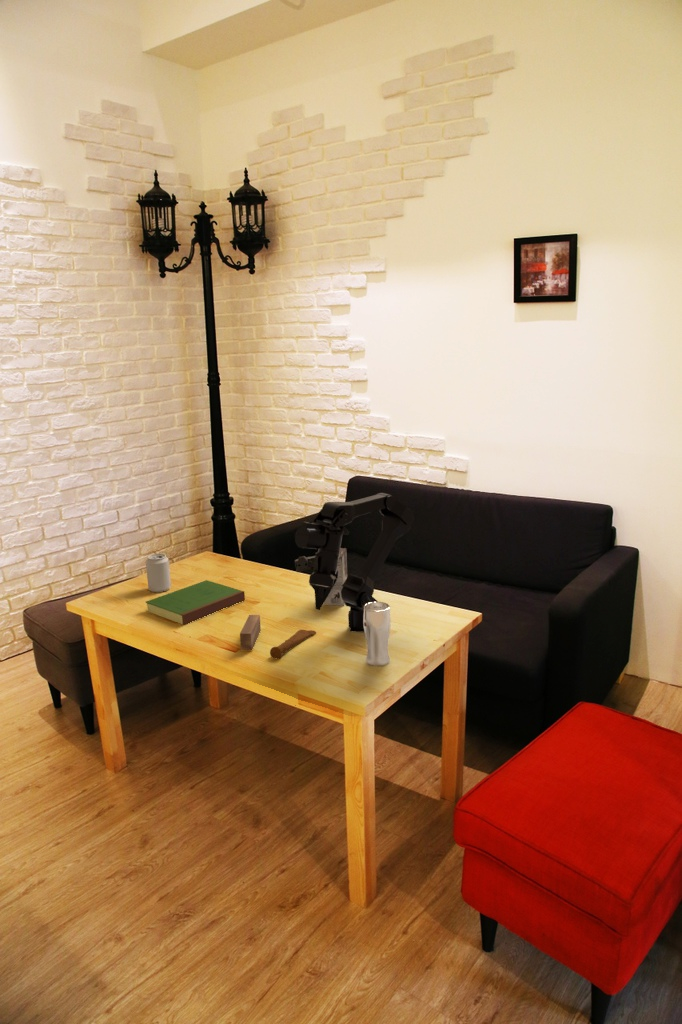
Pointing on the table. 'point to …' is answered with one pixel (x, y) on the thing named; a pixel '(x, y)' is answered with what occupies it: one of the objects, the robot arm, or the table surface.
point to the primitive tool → (291, 643)
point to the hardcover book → (195, 601)
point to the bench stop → (250, 632)
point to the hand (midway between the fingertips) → (319, 606)
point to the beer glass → (377, 632)
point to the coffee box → (338, 581)
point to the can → (158, 572)
